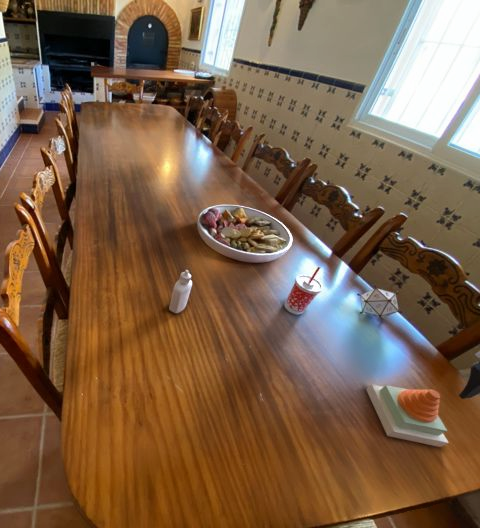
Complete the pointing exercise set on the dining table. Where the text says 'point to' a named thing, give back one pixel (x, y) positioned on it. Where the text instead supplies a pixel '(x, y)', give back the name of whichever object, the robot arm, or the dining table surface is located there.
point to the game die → (379, 303)
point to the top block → (405, 419)
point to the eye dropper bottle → (181, 292)
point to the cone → (420, 404)
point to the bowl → (243, 233)
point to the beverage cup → (303, 293)
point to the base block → (400, 432)
